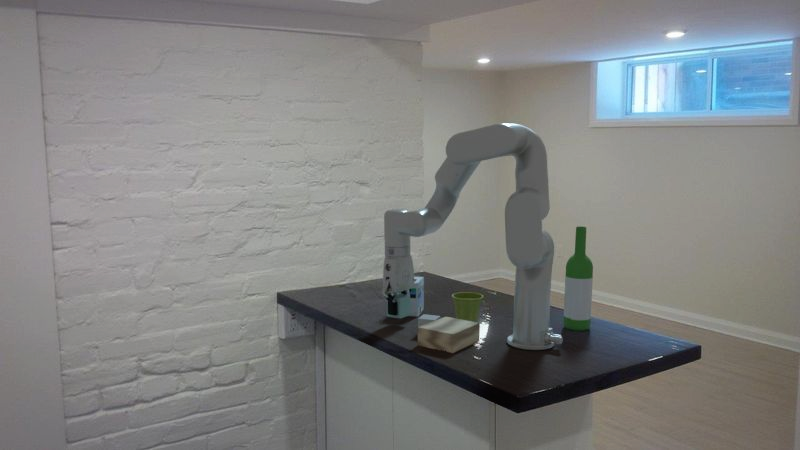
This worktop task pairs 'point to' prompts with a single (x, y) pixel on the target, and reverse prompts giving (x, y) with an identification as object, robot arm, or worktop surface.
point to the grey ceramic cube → (427, 319)
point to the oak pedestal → (448, 334)
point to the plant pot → (467, 305)
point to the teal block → (401, 306)
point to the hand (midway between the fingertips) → (398, 312)
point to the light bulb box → (417, 297)
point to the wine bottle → (578, 286)
